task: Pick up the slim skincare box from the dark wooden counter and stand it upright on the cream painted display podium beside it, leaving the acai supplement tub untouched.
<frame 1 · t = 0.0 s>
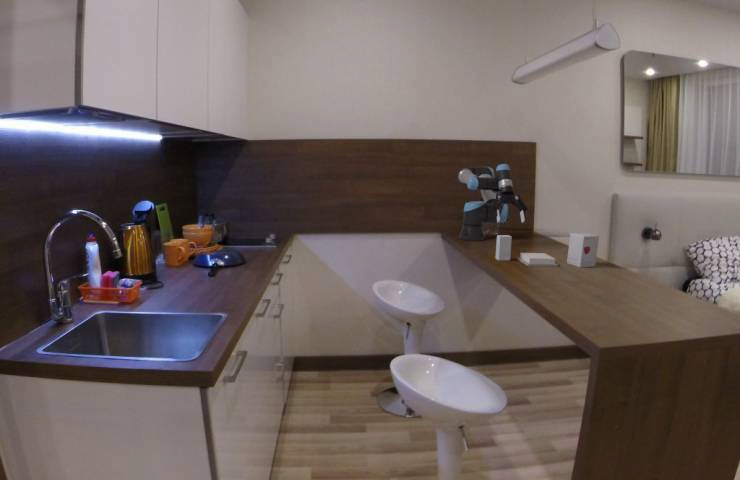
hand: (511, 221, 232), 15 cm above the countertop, tool tilted 35°, fingers open, 13 cm apart
supplement box: (580, 265, 201), on the countertop
skincare box: (502, 260, 208), on the countertop
podium: (536, 262, 204), on the countertop
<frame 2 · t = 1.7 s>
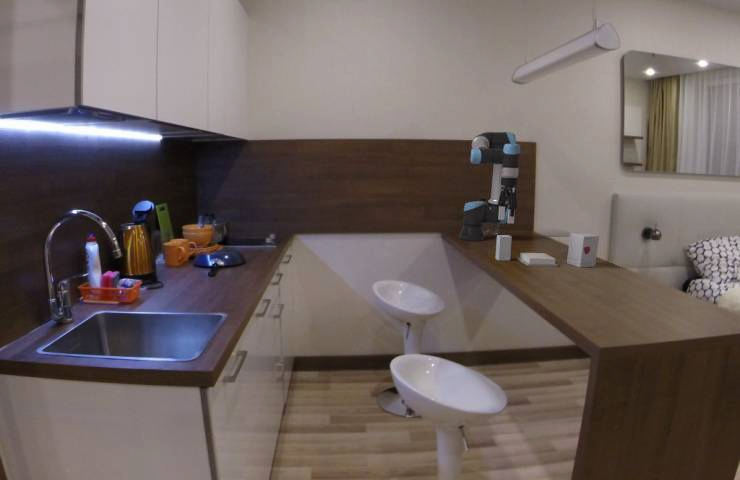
hand: (505, 221, 205), 19 cm above the countertop, tool pointing down, fingers open, 13 cm apart
nothing on the countertop moved.
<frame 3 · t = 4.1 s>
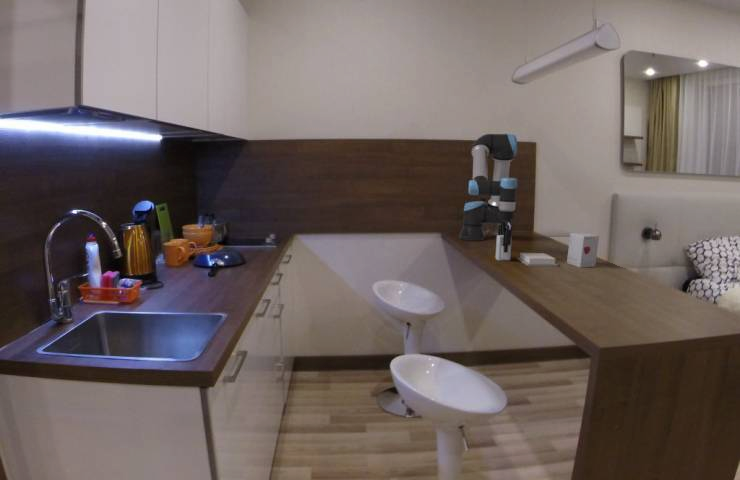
hand: (502, 257, 208), 1 cm above the countertop, tool pointing down, fingers closed on skincare box, 4 cm apart
skincare box: (502, 260, 208), on the countertop, touching gripper
everything else where it was.
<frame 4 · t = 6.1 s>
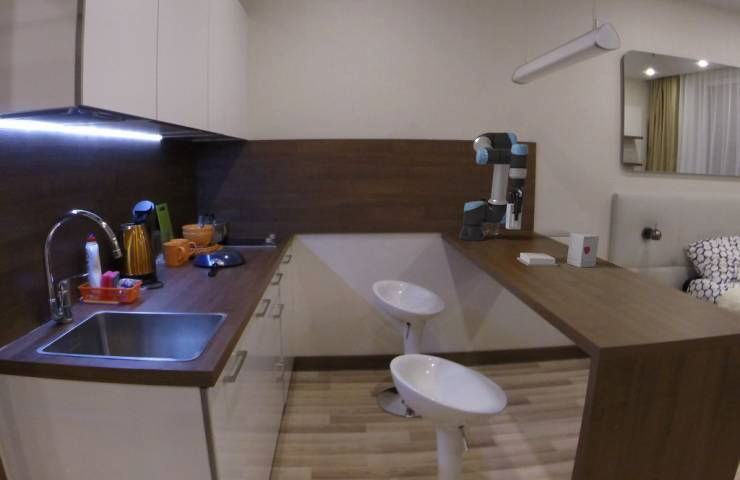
hand: (513, 226, 204), 17 cm above the countertop, tool pointing down, fingers closed on skincare box, 4 cm apart
skincare box: (512, 229, 204), point 15 cm above the countertop, touching gripper
everything else where it was.
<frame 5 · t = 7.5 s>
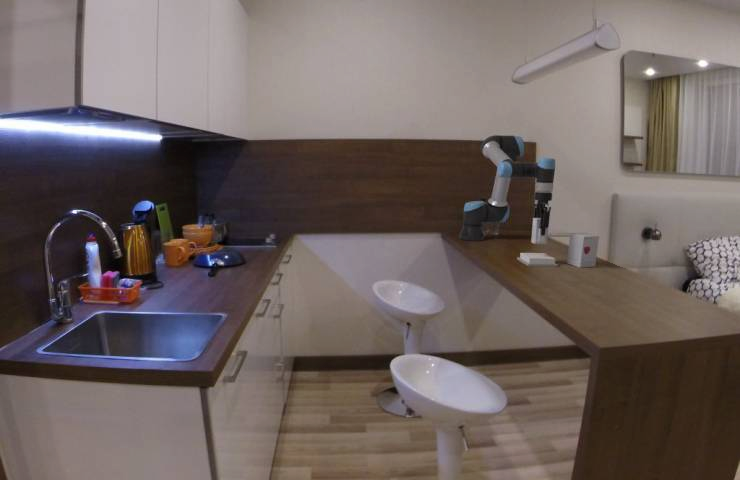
hand: (539, 240, 201), 11 cm above the countertop, tool pointing down, fingers closed on skincare box, 4 cm apart
skincare box: (538, 243, 202), point 9 cm above the countertop, touching gripper
everything else where it was.
when the fingers open (6 cm above the countertop, at t = 8.4 s): skincare box drops 1 cm, resting on podium.
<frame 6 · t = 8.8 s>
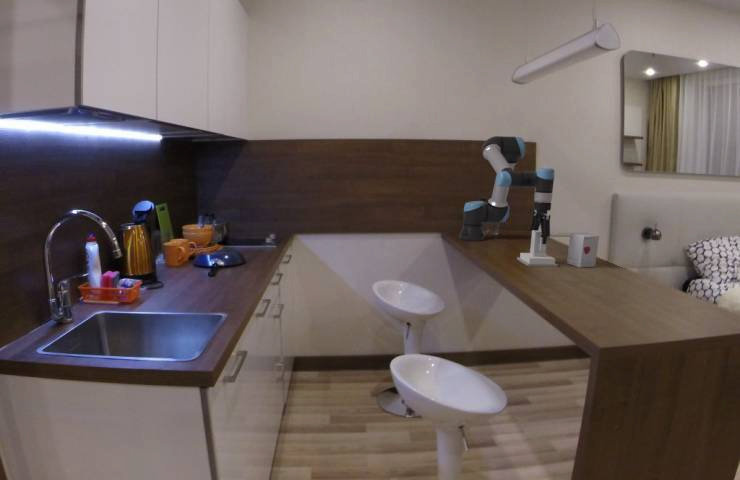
hand: (538, 248, 202), 7 cm above the countertop, tool pointing down, fingers open, 9 cm apart
skincare box: (537, 256, 203), point 3 cm above the countertop, touching podium
everything else where it was.
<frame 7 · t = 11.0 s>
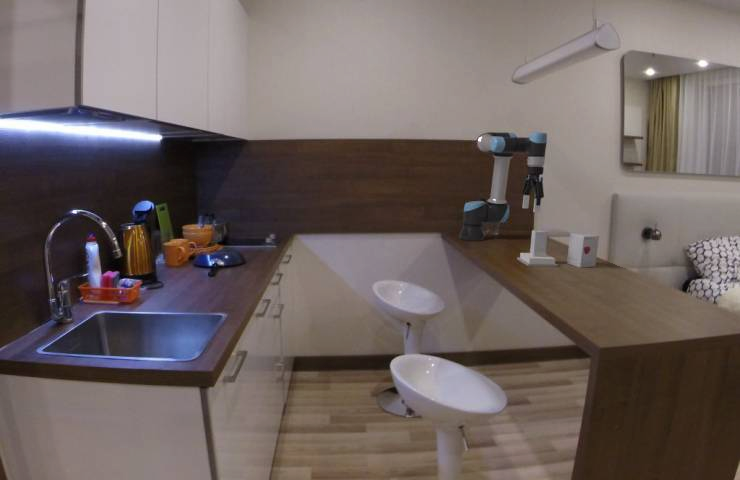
hand: (530, 210, 206), 25 cm above the countertop, tool pointing down, fingers open, 13 cm apart
nothing on the countertop moved.
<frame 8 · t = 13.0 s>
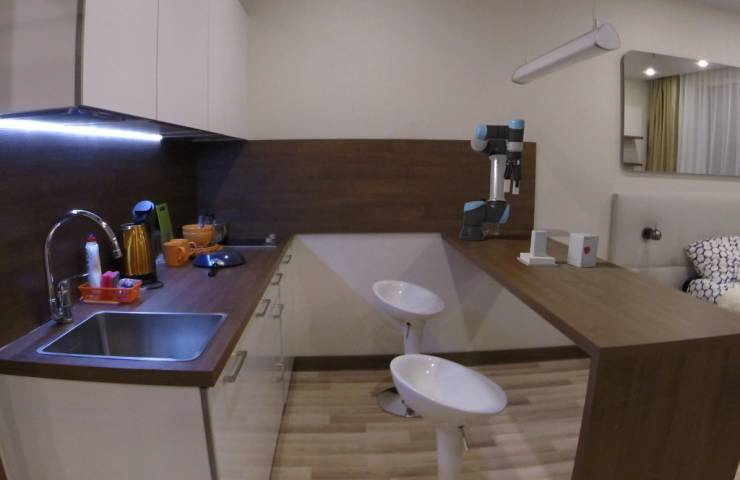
hand: (510, 193, 218), 32 cm above the countertop, tool pointing down, fingers open, 13 cm apart
nothing on the countertop moved.
at the end: skincare box inside the target area on the podium (0.1 cm from its centre), point 3.3 cm above the podium's base; skincare box tilted 0°; the gripper is holding nothing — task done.
